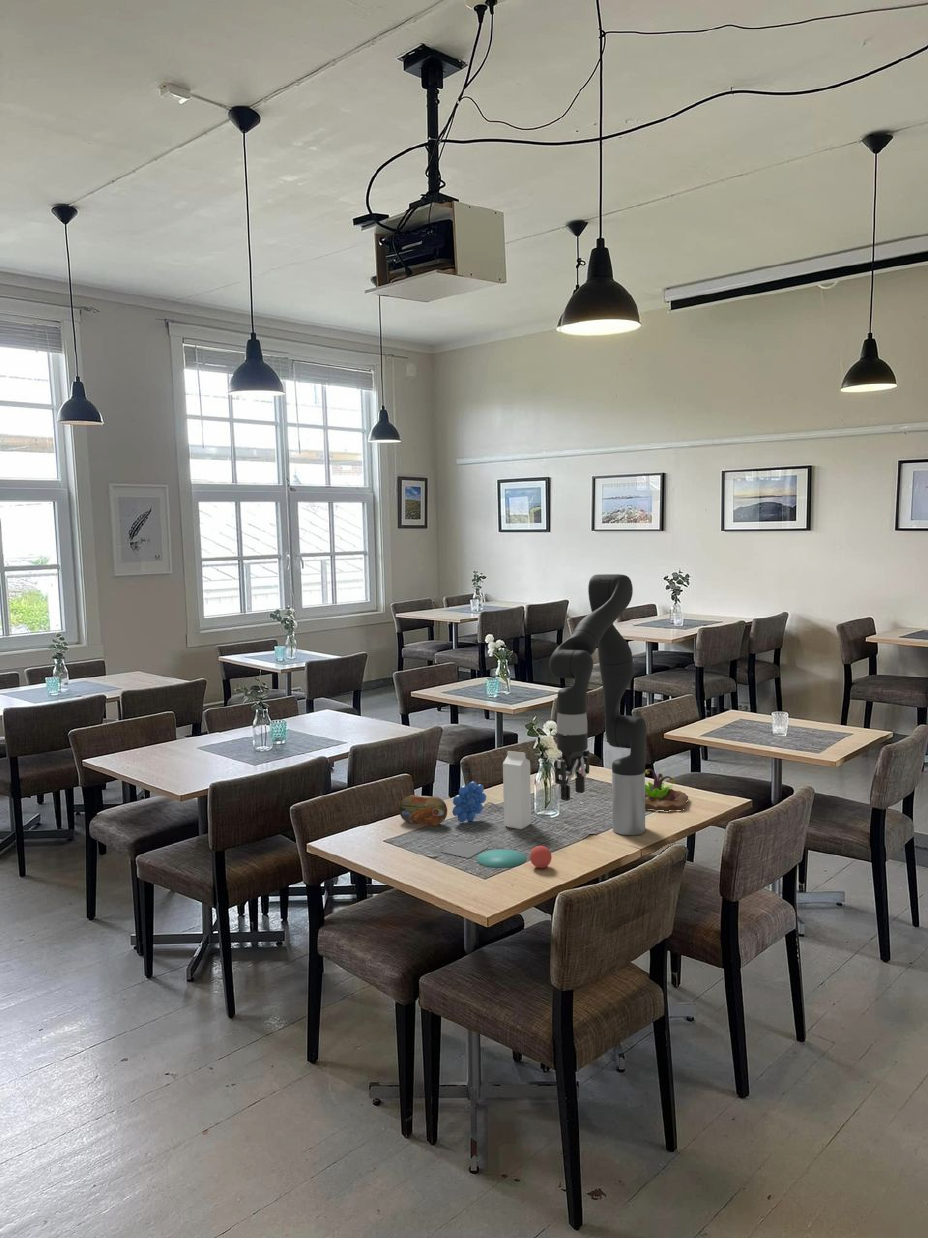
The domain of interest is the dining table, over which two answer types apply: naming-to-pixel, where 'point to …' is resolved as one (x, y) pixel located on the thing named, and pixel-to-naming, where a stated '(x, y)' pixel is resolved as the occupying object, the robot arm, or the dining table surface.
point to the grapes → (469, 802)
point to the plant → (663, 795)
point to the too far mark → (464, 850)
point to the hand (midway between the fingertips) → (572, 796)
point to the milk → (516, 790)
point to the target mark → (501, 858)
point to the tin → (423, 810)
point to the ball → (540, 857)
